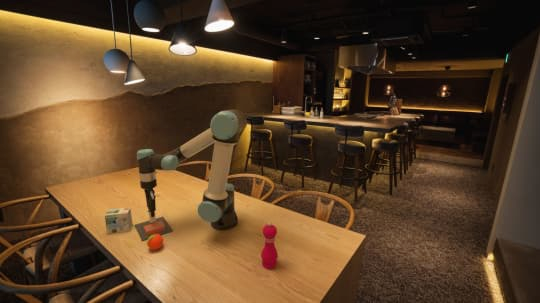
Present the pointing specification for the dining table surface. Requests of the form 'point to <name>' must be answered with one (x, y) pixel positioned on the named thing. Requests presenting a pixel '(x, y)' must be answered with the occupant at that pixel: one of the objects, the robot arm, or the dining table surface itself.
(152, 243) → the clementine
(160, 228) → the block
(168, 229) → the mat
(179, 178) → the dining table surface
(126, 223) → the light bulb box
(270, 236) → the pink bowling pin
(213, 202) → the robot arm
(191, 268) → the dining table surface
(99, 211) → the dining table surface
